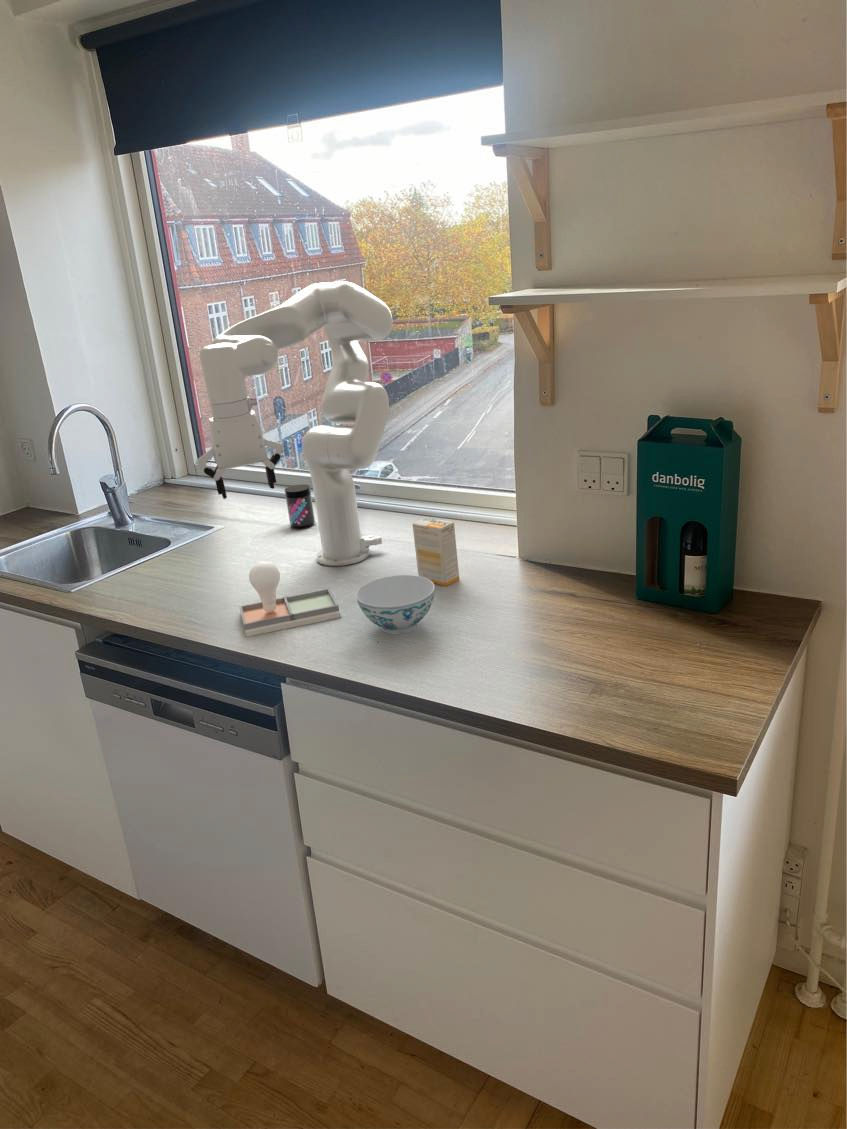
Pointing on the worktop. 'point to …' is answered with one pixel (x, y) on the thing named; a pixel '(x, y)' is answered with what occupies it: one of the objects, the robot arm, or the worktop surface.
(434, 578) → the supplement box
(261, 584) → the lightbulb
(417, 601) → the chinaware
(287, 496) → the supplement container
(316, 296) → the robot arm
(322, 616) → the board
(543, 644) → the worktop surface
